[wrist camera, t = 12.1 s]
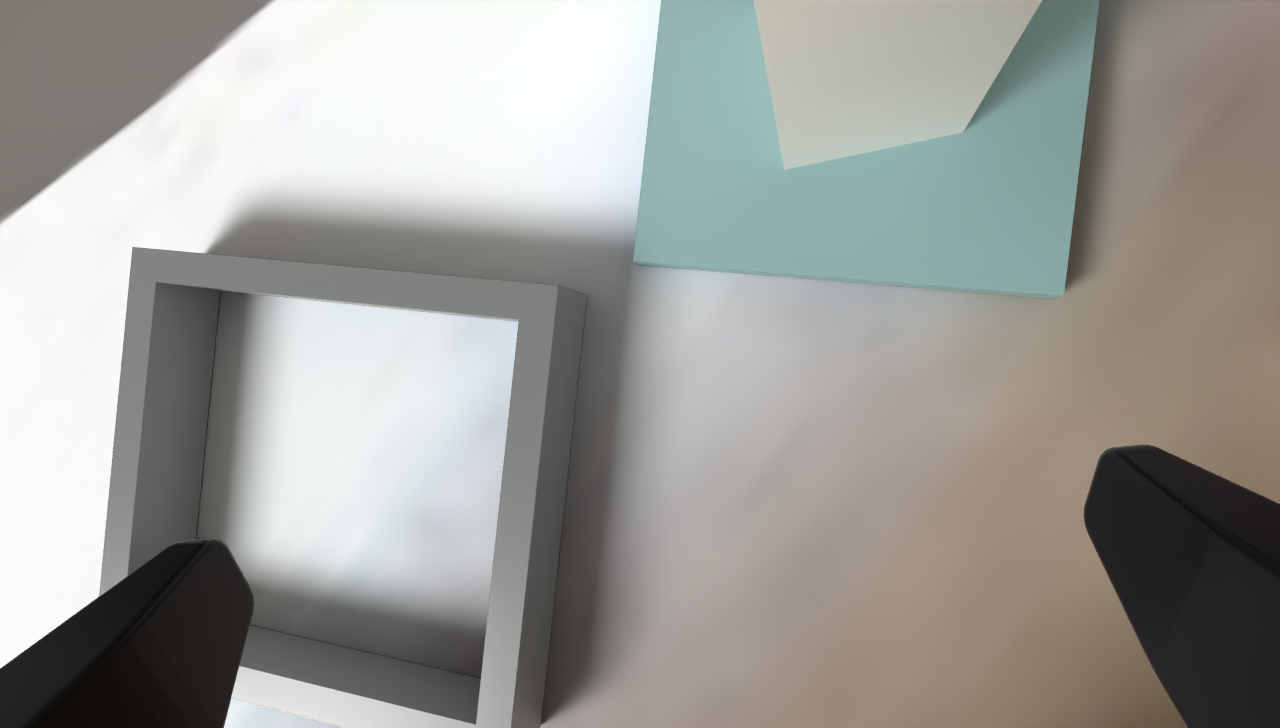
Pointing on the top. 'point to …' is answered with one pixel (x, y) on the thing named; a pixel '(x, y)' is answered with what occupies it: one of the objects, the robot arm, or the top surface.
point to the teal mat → (863, 169)
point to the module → (880, 69)
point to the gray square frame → (174, 454)
